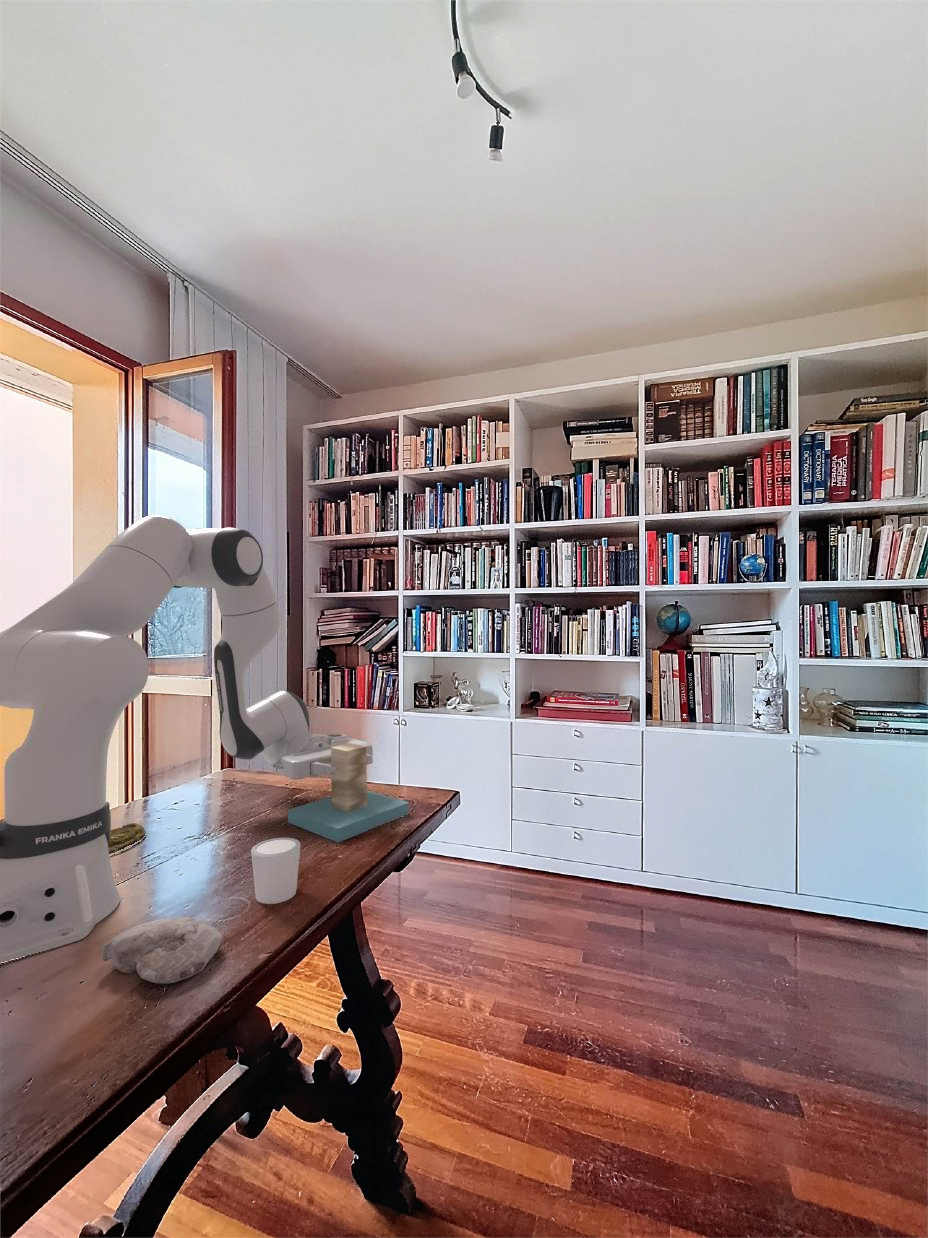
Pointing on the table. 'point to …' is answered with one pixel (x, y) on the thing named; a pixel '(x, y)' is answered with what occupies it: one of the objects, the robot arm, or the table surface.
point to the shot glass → (275, 869)
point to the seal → (125, 836)
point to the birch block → (349, 777)
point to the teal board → (346, 816)
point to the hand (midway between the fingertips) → (352, 765)
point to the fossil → (164, 949)
